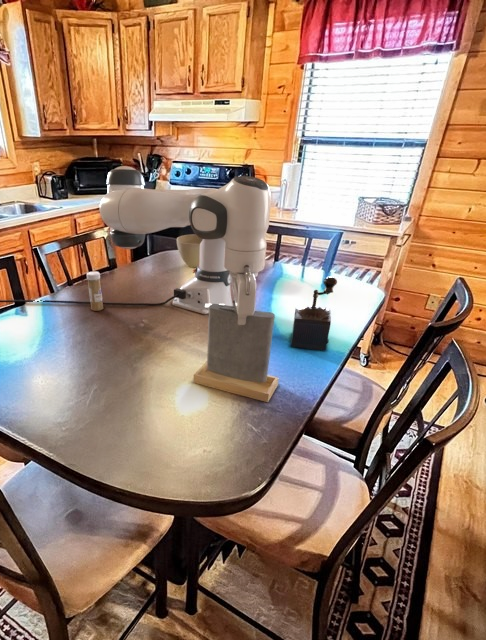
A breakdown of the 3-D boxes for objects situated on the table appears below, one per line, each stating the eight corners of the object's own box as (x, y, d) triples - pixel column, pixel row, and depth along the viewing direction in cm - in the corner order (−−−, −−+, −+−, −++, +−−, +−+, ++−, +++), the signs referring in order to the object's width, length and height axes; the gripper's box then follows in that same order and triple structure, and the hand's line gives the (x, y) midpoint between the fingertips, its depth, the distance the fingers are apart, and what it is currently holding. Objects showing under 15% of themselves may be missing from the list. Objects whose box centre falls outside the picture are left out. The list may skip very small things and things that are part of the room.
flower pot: (174, 270, 191) (173, 243, 185) (180, 259, 206) (179, 233, 200) (213, 271, 188) (213, 244, 182) (216, 260, 203) (217, 234, 197)
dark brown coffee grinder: (328, 351, 122) (340, 293, 113) (289, 347, 125) (298, 289, 115) (327, 329, 135) (338, 275, 125) (292, 326, 138) (300, 272, 128)
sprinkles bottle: (102, 311, 151) (97, 275, 143) (89, 311, 151) (84, 274, 144) (104, 306, 154) (100, 271, 147) (92, 306, 155) (88, 270, 148)
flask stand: (193, 382, 109) (193, 374, 108) (207, 367, 115) (207, 360, 114) (267, 402, 101) (268, 394, 99) (277, 385, 107) (278, 377, 106)
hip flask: (268, 377, 105) (277, 302, 94) (263, 385, 102) (273, 309, 91) (209, 364, 111) (212, 293, 100) (203, 372, 108) (205, 298, 97)
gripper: (265, 274, 82) (259, 337, 89) (253, 247, 99) (249, 302, 106) (233, 274, 82) (229, 337, 90) (227, 247, 99) (224, 302, 107)
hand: (240, 318), depth 98 cm, fingers closed on hip flask, 5 cm apart
